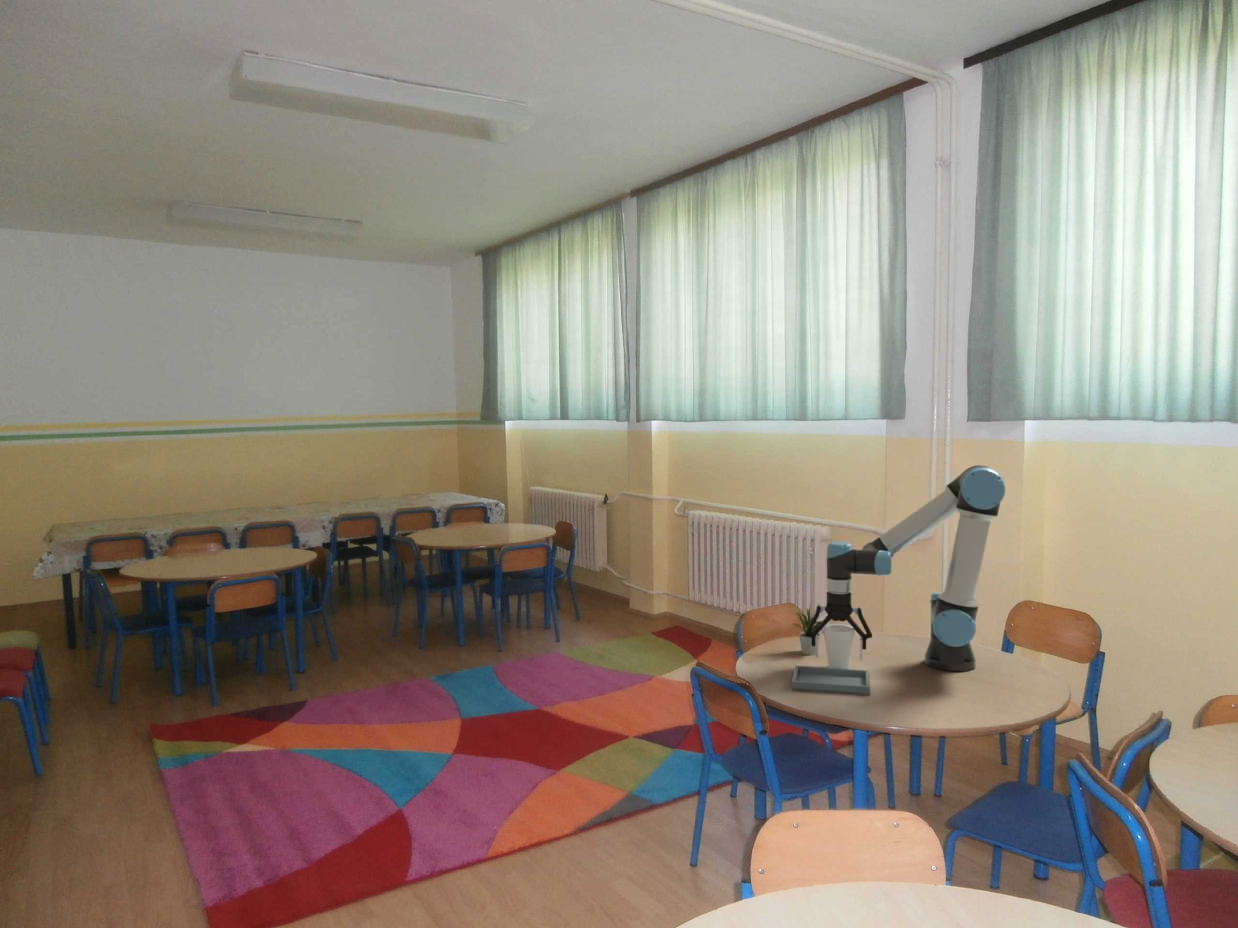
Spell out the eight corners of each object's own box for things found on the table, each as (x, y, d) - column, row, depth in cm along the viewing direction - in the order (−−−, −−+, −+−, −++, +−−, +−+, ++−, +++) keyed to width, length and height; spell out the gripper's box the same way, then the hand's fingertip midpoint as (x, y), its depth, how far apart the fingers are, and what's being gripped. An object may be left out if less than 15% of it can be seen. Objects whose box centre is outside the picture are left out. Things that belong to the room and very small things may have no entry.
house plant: (788, 659, 275) (788, 610, 274) (781, 647, 289) (781, 600, 288) (832, 658, 274) (832, 609, 273) (823, 647, 288) (823, 600, 287)
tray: (869, 678, 254) (869, 670, 254) (869, 695, 239) (869, 686, 239) (795, 673, 260) (795, 665, 260) (791, 689, 245) (791, 681, 245)
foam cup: (851, 664, 268) (851, 624, 268) (857, 673, 259) (857, 632, 258) (821, 663, 269) (821, 624, 268) (825, 672, 260) (825, 631, 259)
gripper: (880, 590, 263) (879, 656, 264) (799, 587, 270) (799, 651, 271) (880, 595, 256) (880, 663, 257) (797, 592, 262) (797, 658, 264)
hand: (838, 657), depth 264 cm, fingers open, 13 cm apart
